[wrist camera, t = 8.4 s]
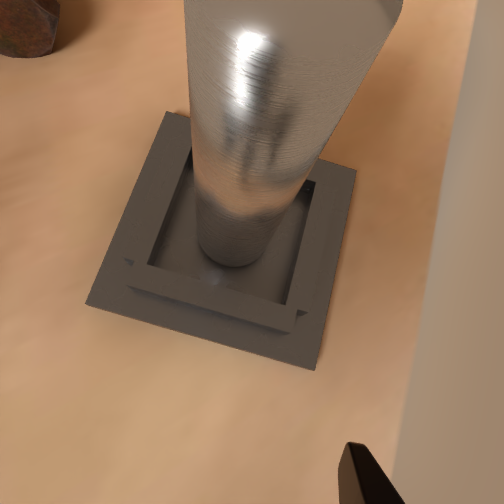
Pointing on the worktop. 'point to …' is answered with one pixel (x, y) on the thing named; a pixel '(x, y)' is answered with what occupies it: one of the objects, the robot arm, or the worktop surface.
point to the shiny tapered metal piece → (268, 105)
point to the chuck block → (220, 276)
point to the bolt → (28, 27)
